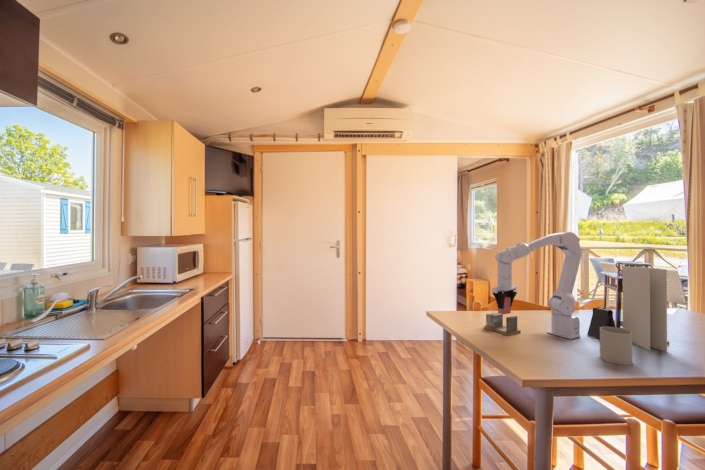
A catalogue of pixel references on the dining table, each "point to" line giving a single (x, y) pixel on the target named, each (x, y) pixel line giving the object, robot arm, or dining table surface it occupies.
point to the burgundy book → (506, 306)
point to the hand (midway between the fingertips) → (504, 307)
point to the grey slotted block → (501, 324)
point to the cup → (616, 345)
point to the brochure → (645, 306)
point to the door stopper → (600, 321)
